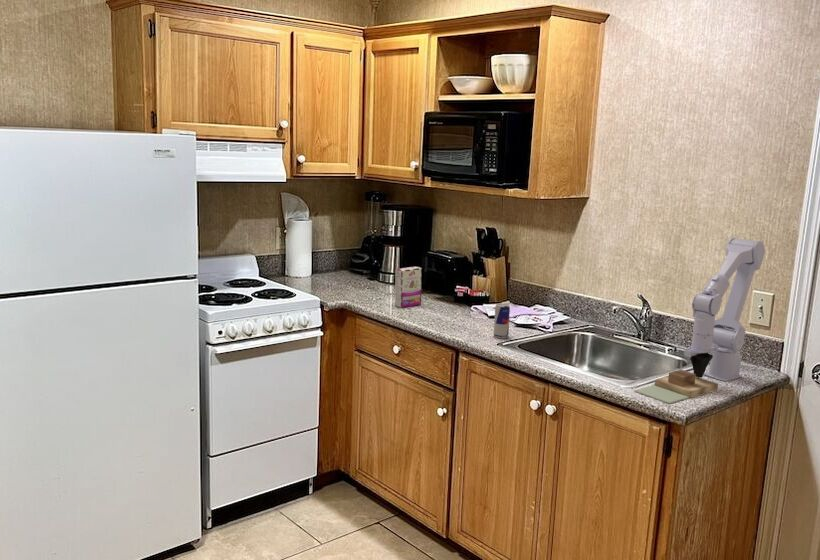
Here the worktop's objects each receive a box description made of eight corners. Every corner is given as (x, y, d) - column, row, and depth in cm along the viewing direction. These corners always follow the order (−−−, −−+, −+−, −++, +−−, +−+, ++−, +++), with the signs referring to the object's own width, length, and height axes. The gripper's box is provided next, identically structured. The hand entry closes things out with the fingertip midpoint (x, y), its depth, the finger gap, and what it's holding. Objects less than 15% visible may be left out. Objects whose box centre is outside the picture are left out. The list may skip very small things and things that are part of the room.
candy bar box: (413, 303, 326) (415, 266, 323) (421, 305, 322) (422, 267, 319) (393, 306, 319) (394, 268, 316) (401, 308, 315) (402, 270, 312)
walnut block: (680, 379, 226) (681, 369, 225) (694, 383, 222) (695, 374, 221) (667, 382, 223) (668, 372, 222) (682, 387, 219) (683, 377, 218)
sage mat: (653, 386, 225) (653, 385, 225) (688, 398, 215) (688, 397, 215) (634, 391, 219) (634, 390, 219) (669, 404, 210) (669, 402, 210)
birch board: (682, 378, 233) (683, 372, 233) (717, 389, 223) (717, 383, 223) (654, 386, 225) (654, 379, 224) (689, 398, 215) (690, 391, 215)
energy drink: (506, 339, 271) (508, 307, 269) (491, 337, 273) (493, 305, 271) (509, 336, 276) (511, 304, 274) (495, 334, 278) (497, 303, 276)
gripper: (700, 339, 217) (695, 384, 220) (728, 333, 225) (723, 376, 228) (679, 334, 223) (675, 377, 225) (708, 328, 231) (703, 370, 234)
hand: (698, 376), depth 227 cm, fingers closed
